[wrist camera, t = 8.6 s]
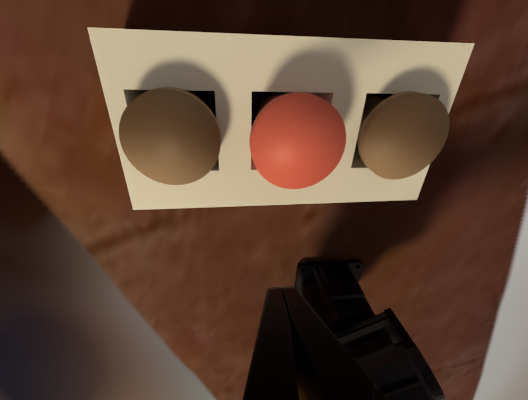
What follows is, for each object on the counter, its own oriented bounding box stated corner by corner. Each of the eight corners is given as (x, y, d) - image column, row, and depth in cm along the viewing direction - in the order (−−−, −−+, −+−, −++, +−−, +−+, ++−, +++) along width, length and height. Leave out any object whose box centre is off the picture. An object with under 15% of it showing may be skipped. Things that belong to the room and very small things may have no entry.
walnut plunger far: (383, 147, 20) (431, 178, 15) (325, 147, 20) (356, 180, 15) (401, 81, 18) (463, 94, 13) (335, 79, 17) (376, 93, 13)
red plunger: (309, 151, 19) (337, 188, 14) (244, 152, 18) (250, 190, 14) (318, 80, 16) (355, 95, 12) (243, 79, 16) (251, 93, 11)
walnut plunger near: (223, 148, 19) (222, 184, 14) (155, 149, 18) (130, 186, 14) (220, 77, 16) (217, 90, 12) (142, 75, 16) (106, 88, 11)
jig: (383, 172, 22) (416, 199, 18) (151, 177, 19) (133, 209, 16) (418, 43, 17) (474, 43, 13) (123, 31, 15) (87, 27, 11)
